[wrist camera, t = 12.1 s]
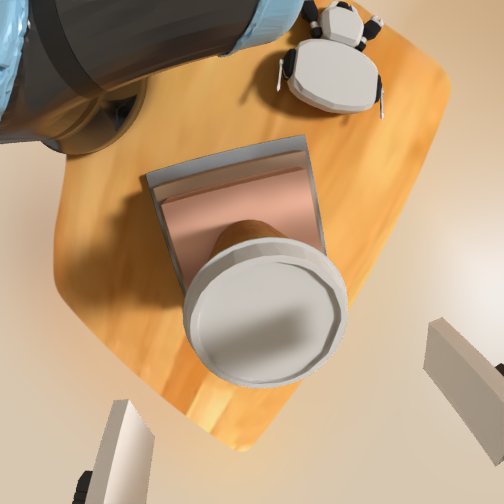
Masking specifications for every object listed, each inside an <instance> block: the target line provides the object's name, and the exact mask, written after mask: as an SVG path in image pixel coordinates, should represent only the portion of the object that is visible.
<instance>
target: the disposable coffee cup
mask: <svg viewBox="0 0 504 504" xmlns="http://www.w3.org/2000/svg"><path fill="white" fill-rule="evenodd" d="M347 306H348V300H347V292H346V287H345V283H344V281H343V279H342V277H341V275H340V273H339V271H338V269H337V268H336V267H335V266H334V264H333V263H332V262H331V261H330V259H329V258H328V257H326V256H325V255H324V254H323V253H321V252H320V251H318V250H317V249H315V248H314V247H312V246H310V245H308V244H305V243H302V242H300V241H297V240H294V239H289V238H288V237H287V236H285V235H284V234H282V233H281V232H279V231H278V230H276V229H275V228H273V227H272V226H271V225H269V224H267V223H265V222H263V221H258V220H249V219H248V220H242V221H239V222H236V223H234V224H232V225H230V226H229V227H227V228H226V229H225V230H224V231H223V232H222V233H221V234H220V236H219V237H218V239H217V241H216V243H215V246H214V248H213V250H212V252H211V255H210V257H209V259H208V262H207V263H206V264H205V265H204V266H203V267H202V268H201V269H200V271H199V272H198V273H197V275H196V276H195V277H194V279H193V281H192V283H191V285H190V287H189V289H188V291H187V294H186V297H185V301H184V307H183V325H184V329H185V332H186V336H187V339H188V341H189V343H190V344H191V346H192V348H193V349H194V351H195V352H196V354H197V356H198V357H199V359H200V360H201V362H202V363H203V364H204V365H205V366H206V367H207V368H208V369H209V370H210V371H211V372H212V373H214V374H215V375H217V376H218V377H219V378H221V379H223V380H225V381H228V382H230V383H232V384H235V385H239V386H244V387H249V388H276V387H280V386H283V385H287V384H291V383H295V382H297V381H299V380H301V379H303V378H305V377H307V376H309V375H311V374H312V373H314V372H315V371H316V370H318V369H319V368H320V367H322V366H323V364H324V363H325V362H326V361H327V360H328V359H329V358H330V357H331V356H332V355H333V354H334V352H335V351H336V350H337V348H338V346H339V344H340V342H341V340H342V339H343V336H344V332H345V329H346V325H347Z"/></svg>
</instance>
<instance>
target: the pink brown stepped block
mask: <svg viewBox="0 0 504 504" xmlns="http://www.w3.org/2000/svg"><path fill="white" fill-rule="evenodd" d="M146 177H147V181H148V184H149V188H150V191H151V195H152V198H153V202H154V205H155V209H156V212H157V215H158V219H159V222H160V225H161V228H162V231H163V235H164V238H165V241H166V244H167V247H168V250H169V253H170V256H171V259H172V262H173V265H174V268H175V271H176V274H177V277H178V280H179V283H180V286H181V288H182V291H183V294H184V297H186V294H187V291H188V289H189V287H190V285H191V283H192V281H193V279H194V277H195V276H196V275H197V273H198V272H199V271H200V269H201V268H202V267H203V266H204V265H205V264H206V263H207V262H208V259H209V257H210V255H211V252H212V250H213V248H214V246H215V243H216V241H217V239H218V237H219V236H220V234H221V233H222V232H223V231H224V230H225V229H226V228H227V227H229V226H230V225H232V224H234V223H236V222H239V221H242V220H248V219H249V220H258V221H263V222H265V223H267V224H269V225H271V226H272V227H273V228H275V229H276V230H278V231H279V232H281V233H282V234H284V235H285V236H287V237H288V238H289V239H294V240H297V241H300V242H302V243H305V244H308V245H310V246H312V247H314V248H315V249H317V250H318V251H320V252H321V253H323V254H324V255H325V256H326V257H327V254H326V248H325V241H324V235H323V228H322V222H321V216H320V210H319V205H318V199H317V193H316V188H315V183H314V177H313V172H312V167H311V162H310V157H309V152H308V147H307V143H306V138H305V135H299V136H293V137H288V138H283V139H278V140H273V141H268V142H264V143H259V144H255V145H250V146H246V147H241V148H237V149H233V150H229V151H225V152H221V153H217V154H213V155H209V156H205V157H201V158H198V159H194V160H190V161H187V162H183V163H180V164H176V165H173V166H169V167H166V168H163V169H159V170H156V171H153V172H149V173H147V174H146Z"/></svg>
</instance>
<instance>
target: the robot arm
mask: <svg viewBox="0 0 504 504" xmlns="http://www.w3.org/2000/svg"><path fill="white" fill-rule="evenodd" d="M303 3H304V0H0V144H6V143H17V142H28V141H41V142H42V143H43V144H44V145H46V146H47V147H49V148H50V149H52V150H54V151H56V152H59V153H63V154H69V155H78V154H87V153H92V152H96V151H99V150H101V149H103V148H105V147H107V146H109V145H111V144H112V143H114V142H115V141H116V140H118V139H119V138H120V137H121V136H122V135H123V134H124V133H125V132H126V131H127V130H128V129H129V127H130V126H131V125H132V123H133V122H134V120H135V119H136V117H137V115H138V113H139V111H140V109H141V107H142V104H143V101H144V97H145V93H146V83H147V82H146V77H148V76H151V75H154V74H157V73H160V72H163V71H166V70H169V69H172V68H175V67H178V66H181V65H184V64H188V63H191V62H195V61H198V60H202V59H205V58H209V57H213V56H218V57H226V56H230V55H232V54H233V53H235V52H237V51H239V50H242V49H246V48H250V47H254V46H258V45H263V44H267V43H270V42H273V41H275V40H277V39H278V38H279V37H280V36H282V35H283V34H284V33H286V32H287V31H288V30H289V29H290V28H291V27H292V25H293V24H294V22H295V21H296V19H297V17H298V15H299V13H300V11H301V8H302V6H303ZM423 369H424V370H425V371H426V372H427V374H428V375H429V376H430V377H431V379H432V380H433V381H434V383H435V384H436V385H437V387H438V388H439V389H440V390H441V392H442V393H443V394H444V396H445V397H446V398H447V400H448V401H449V402H450V404H451V405H452V406H453V407H454V409H455V410H456V412H457V413H458V414H459V415H460V417H461V418H462V419H463V421H464V422H465V424H466V425H467V426H468V428H469V429H470V430H471V432H472V433H473V435H474V436H475V437H476V439H477V440H478V442H479V443H480V444H481V446H482V447H483V449H484V450H485V452H486V453H487V454H488V456H489V457H490V459H491V460H492V462H493V463H494V465H495V466H497V465H498V464H500V463H501V462H502V461H504V364H502V363H501V364H499V365H497V366H496V367H493V365H491V363H490V362H489V361H488V360H486V358H485V357H483V355H482V354H480V353H479V351H477V350H476V349H475V348H474V347H473V346H472V345H471V344H470V343H469V342H468V341H467V340H466V339H465V338H464V337H463V336H462V335H461V334H460V333H459V332H458V331H456V330H455V329H454V328H453V327H452V326H451V325H450V324H449V323H448V322H447V321H446V320H445V319H443V318H440V319H437V320H435V321H433V322H430V323H429V327H428V336H427V345H426V353H425V360H424V368H423ZM154 440H155V436H154V435H153V434H152V432H151V431H150V429H149V428H148V427H147V425H146V424H145V422H144V421H143V420H142V418H141V417H140V415H139V414H138V412H137V411H136V409H135V408H134V406H133V405H132V403H131V402H130V400H129V399H127V400H117V401H114V402H113V405H112V408H111V412H110V415H109V418H108V421H107V424H106V428H105V431H104V434H103V437H102V441H101V445H100V448H99V451H98V455H97V459H96V462H95V466H94V469H93V471H85V472H84V473H83V474H82V476H81V477H80V479H79V480H78V484H77V487H76V493H75V495H74V501H73V502H72V504H146V499H147V491H148V483H149V475H150V468H151V461H152V453H153V447H154Z"/></svg>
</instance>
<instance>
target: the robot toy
mask: <svg viewBox="0 0 504 504" xmlns="http://www.w3.org/2000/svg"><path fill="white" fill-rule="evenodd" d="M300 13H301V16H302V18H303V19H304V20H305V21H307V22H308V23H310V24H311V27H312V29H311V30H310V33H311V36H312V39H308V40H305V41H302V42H300V43H299V44H298V46H297V47H296V48H295V49H290V50H289V51H288V53H287V54H286V55H285V57H284V58H283V59H280V61H279V66H280V69H279V77H278V85H277V91H279V89H280V80H281V71H282V75H283V79H284V80H286V81H287V83H288V86H289V90H290V91H291V92H292V93H293V94H294V95H295V96H296V97H297V98H298V99H300V100H301V101H303V102H305V103H307V104H309V105H311V106H314V107H316V108H319V109H321V110H323V111H326V112H332V113H341V114H355V113H359V112H362V111H365V110H367V109H370V108H371V107H372V105H373V104H374V103H377V102H378V101H379V99H380V112H381V113H380V118H381V119H383V118H384V113H383V93H384V90H383V89H382V83H381V77H380V75H378V70H377V68H376V66H375V64H374V63H373V62H372V61H371V60H370V59H369V58H368V57H367V56H366V55H364V54H363V53H362V51H363V50H364V48H365V47H366V45H365V42H366V41H368V40H371V39H374V38H375V37H376V36H377V34H378V33H379V31H380V30H381V28H382V27H383V24H384V22H383V20H379V21H378V20H377V19H378V18H379V17H378V16H372V17H371V19H370V20H369V21H367V23H366V24H365V25H363V22H362V20H361V18H360V17H359V15H358V12H357V9H356V8H354V7H353V6H352V5H350V6H348V4H347V3H345V2H342V1H333V2H332V3H331V4H330V6H329V7H327V8H325V10H324V11H323V12H322V13H321V15H320V16H319V18H318V10H317V7H316V5H315V3H314V0H304V3H303V6H302V8H301V11H300ZM317 18H318V19H317Z"/></svg>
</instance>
